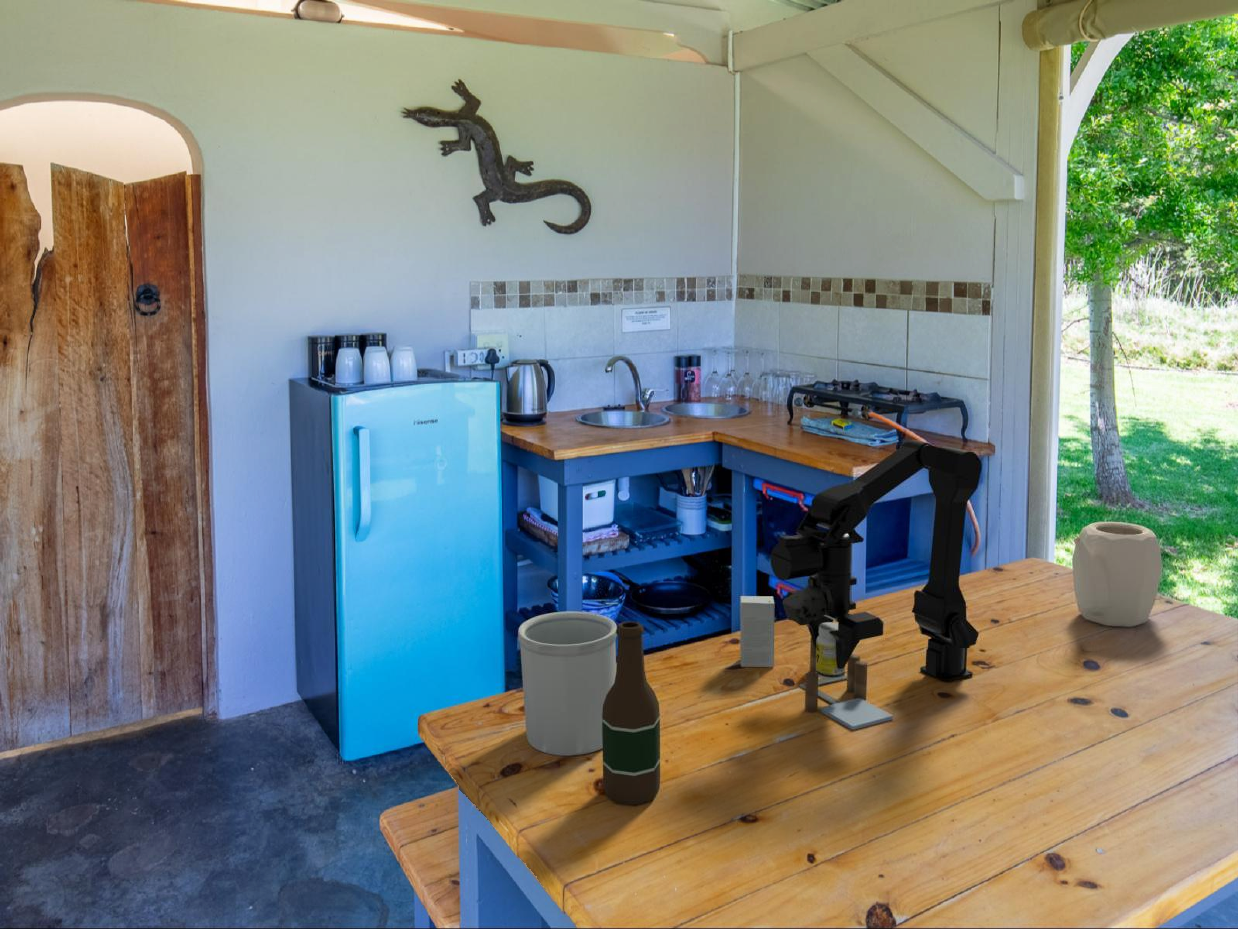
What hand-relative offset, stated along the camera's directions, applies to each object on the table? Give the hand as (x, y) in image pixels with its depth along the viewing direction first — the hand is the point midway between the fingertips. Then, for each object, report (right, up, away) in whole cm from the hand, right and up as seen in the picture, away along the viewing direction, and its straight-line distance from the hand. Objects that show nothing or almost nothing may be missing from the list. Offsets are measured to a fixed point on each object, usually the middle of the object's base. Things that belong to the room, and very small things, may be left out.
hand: (830, 663), depth 172 cm
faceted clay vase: (+63, +1, +38) cm, 73 cm away
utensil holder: (-42, -9, -11) cm, 44 cm away
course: (-1, -5, +6) cm, 8 cm away
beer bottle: (-33, -12, -28) cm, 45 cm away
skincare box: (-10, -4, +18) cm, 21 cm away
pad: (+3, -7, -5) cm, 9 cm away
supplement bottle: (0, -2, 0) cm, 2 cm away
